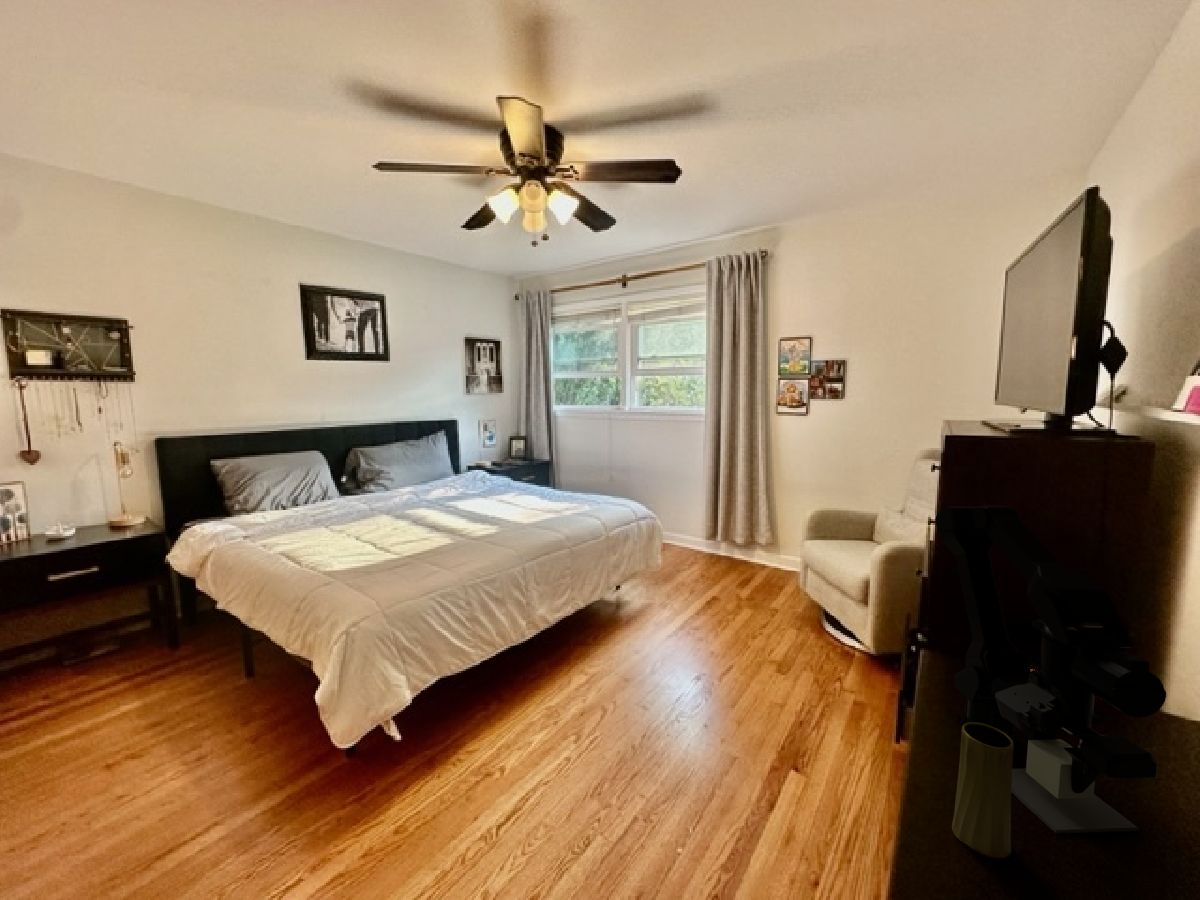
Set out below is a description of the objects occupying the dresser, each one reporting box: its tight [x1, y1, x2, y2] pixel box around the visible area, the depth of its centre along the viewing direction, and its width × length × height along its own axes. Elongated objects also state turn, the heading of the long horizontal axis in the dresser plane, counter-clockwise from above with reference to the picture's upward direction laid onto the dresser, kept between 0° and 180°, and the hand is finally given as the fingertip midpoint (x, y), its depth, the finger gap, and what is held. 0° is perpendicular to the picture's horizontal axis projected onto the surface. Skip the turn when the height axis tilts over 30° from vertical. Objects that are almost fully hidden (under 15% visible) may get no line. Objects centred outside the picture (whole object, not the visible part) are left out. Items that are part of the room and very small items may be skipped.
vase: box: [951, 722, 1015, 858], centre depth 64 cm, size 6×6×14 cm
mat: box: [1011, 767, 1139, 834], centre depth 71 cm, size 11×11×1 cm
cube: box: [1025, 738, 1096, 799], centre depth 71 cm, size 5×5×5 cm
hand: (1058, 777), depth 71 cm, fingers closed on cube, 5 cm apart
